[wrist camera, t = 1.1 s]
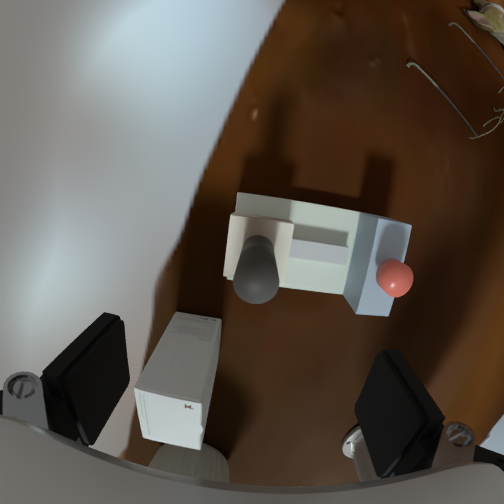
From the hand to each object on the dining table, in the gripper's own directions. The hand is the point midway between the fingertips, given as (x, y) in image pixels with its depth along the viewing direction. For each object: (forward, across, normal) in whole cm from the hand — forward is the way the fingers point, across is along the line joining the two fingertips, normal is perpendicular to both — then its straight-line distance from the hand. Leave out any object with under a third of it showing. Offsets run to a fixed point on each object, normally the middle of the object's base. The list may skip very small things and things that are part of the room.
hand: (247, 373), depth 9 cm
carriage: (+23, 0, 0) cm, 23 cm away
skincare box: (+25, +6, +15) cm, 30 cm away
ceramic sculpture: (+25, -37, -46) cm, 64 cm away
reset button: (+16, -13, 0) cm, 21 cm away
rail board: (+25, -6, 0) cm, 25 cm away
